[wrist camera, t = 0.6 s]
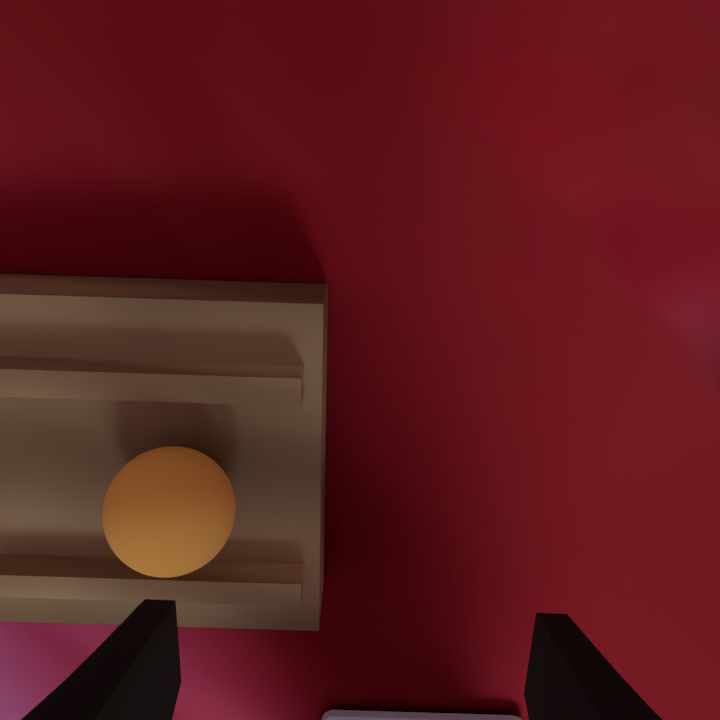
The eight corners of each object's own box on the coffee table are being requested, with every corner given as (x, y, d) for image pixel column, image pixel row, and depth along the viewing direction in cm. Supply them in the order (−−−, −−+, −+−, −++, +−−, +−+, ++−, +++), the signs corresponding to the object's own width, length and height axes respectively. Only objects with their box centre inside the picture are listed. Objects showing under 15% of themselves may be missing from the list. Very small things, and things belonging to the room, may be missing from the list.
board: (323, 581, 24) (314, 679, 19) (-173, 565, 24) (-291, 660, 19) (328, 284, 20) (318, 324, 16) (-258, 265, 20) (-425, 300, 16)
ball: (247, 530, 20) (223, 608, 17) (133, 526, 20) (88, 604, 17) (244, 427, 19) (218, 489, 16) (123, 423, 19) (72, 484, 16)
